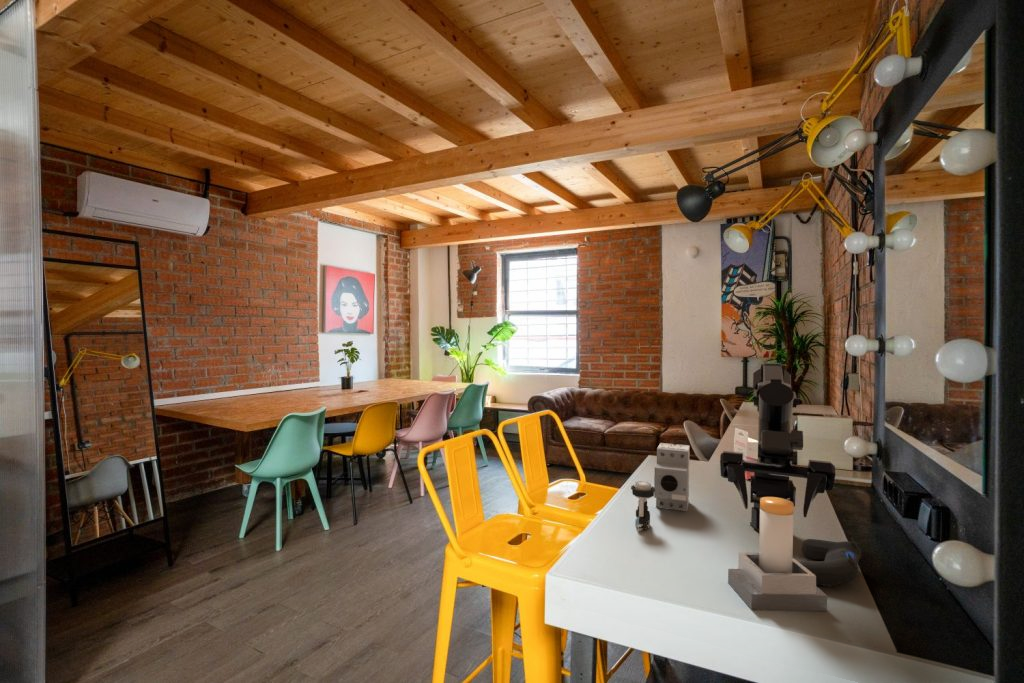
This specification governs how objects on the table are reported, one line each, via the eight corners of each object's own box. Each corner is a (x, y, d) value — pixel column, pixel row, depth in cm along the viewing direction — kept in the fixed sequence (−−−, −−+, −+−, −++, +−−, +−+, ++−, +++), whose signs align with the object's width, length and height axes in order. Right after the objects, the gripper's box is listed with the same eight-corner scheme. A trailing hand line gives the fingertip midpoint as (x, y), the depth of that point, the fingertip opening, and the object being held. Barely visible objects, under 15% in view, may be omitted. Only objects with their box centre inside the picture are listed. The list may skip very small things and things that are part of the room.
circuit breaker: (653, 515, 125) (654, 453, 125) (659, 498, 139) (660, 442, 138) (685, 519, 122) (686, 456, 122) (688, 501, 136) (689, 445, 136)
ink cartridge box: (762, 480, 157) (763, 432, 157) (746, 480, 157) (747, 432, 157) (747, 472, 166) (748, 427, 166) (732, 473, 165) (733, 427, 165)
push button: (650, 535, 112) (651, 489, 112) (626, 530, 115) (627, 486, 115) (656, 525, 118) (657, 482, 118) (633, 521, 121) (634, 479, 121)
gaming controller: (804, 601, 90) (864, 586, 85) (785, 569, 92) (843, 552, 87) (815, 567, 103) (867, 553, 98) (798, 539, 105) (849, 523, 100)
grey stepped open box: (796, 583, 91) (796, 552, 91) (826, 611, 82) (827, 576, 82) (728, 582, 91) (728, 551, 91) (751, 609, 82) (751, 575, 82)
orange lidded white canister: (772, 572, 90) (773, 495, 90) (798, 584, 85) (800, 503, 85) (752, 577, 88) (753, 498, 88) (778, 591, 83) (779, 507, 83)
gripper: (721, 409, 99) (716, 481, 89) (835, 417, 91) (843, 496, 81) (723, 442, 106) (718, 512, 96) (828, 452, 98) (835, 529, 88)
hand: (775, 511), depth 90 cm, fingers open, 9 cm apart
